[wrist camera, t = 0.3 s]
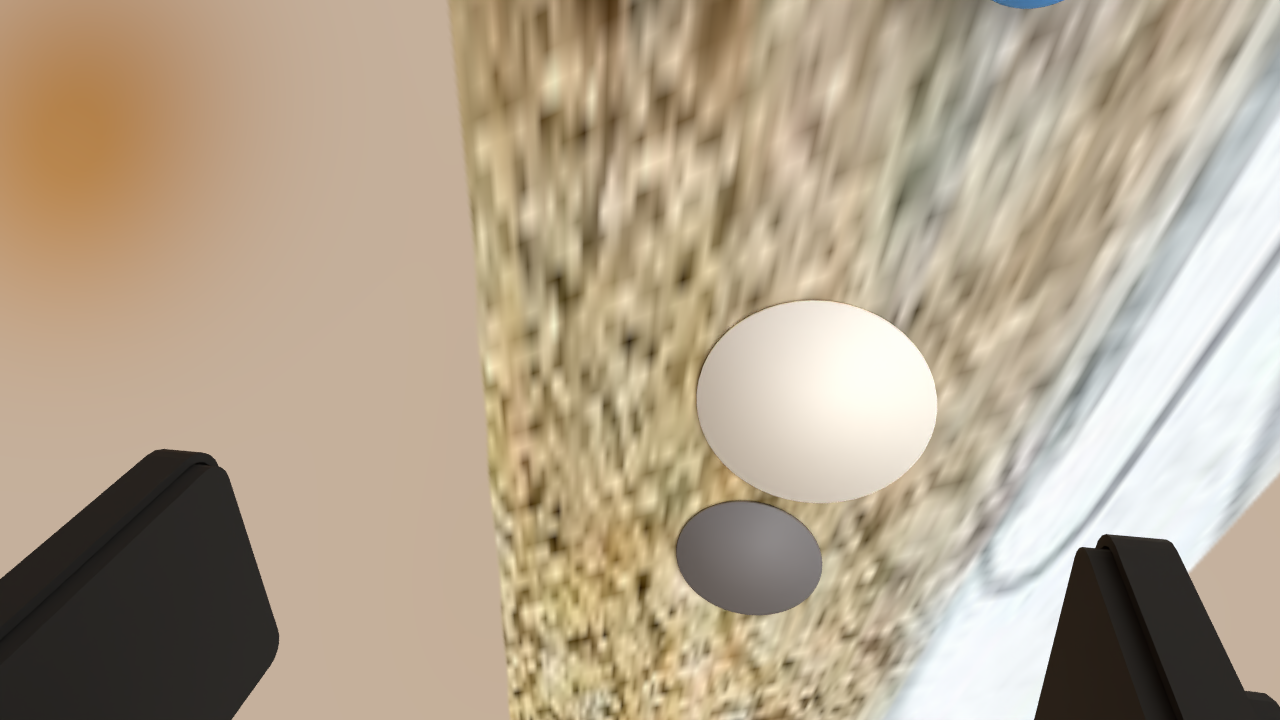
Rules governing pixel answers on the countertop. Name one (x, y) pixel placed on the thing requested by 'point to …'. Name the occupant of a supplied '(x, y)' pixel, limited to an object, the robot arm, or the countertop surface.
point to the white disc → (816, 401)
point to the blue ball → (1026, 3)
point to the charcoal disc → (749, 558)
